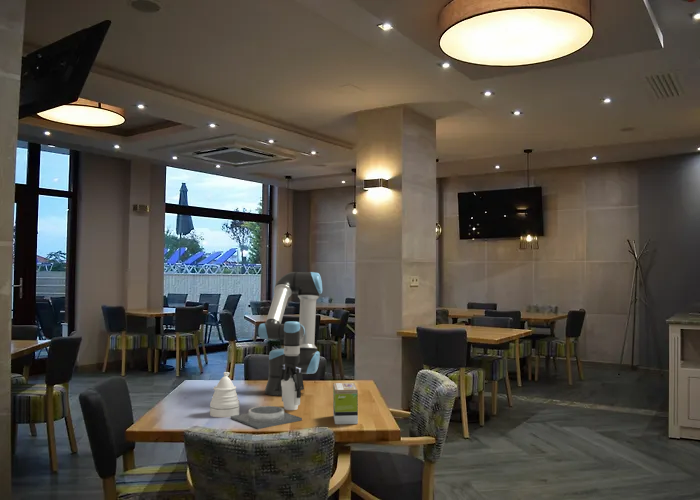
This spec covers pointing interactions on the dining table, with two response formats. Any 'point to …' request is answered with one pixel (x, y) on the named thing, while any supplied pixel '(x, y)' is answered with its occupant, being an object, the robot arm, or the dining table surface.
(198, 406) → the dining table surface
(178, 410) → the dining table surface
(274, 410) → the duct flange
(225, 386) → the honey pot
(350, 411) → the tea box
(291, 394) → the foam cup
